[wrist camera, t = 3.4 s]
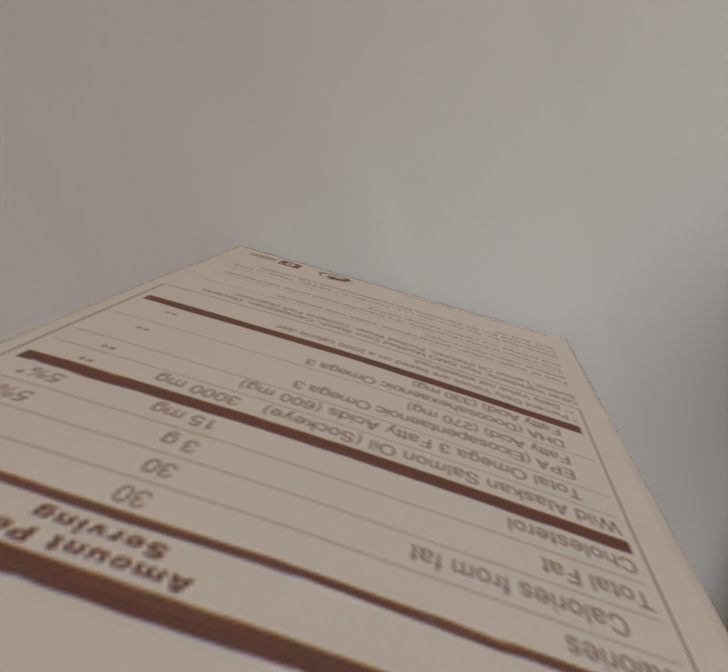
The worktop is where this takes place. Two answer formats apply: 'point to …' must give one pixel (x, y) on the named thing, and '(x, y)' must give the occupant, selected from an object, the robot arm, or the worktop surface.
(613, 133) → the worktop surface
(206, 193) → the worktop surface
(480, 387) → the supplement box
